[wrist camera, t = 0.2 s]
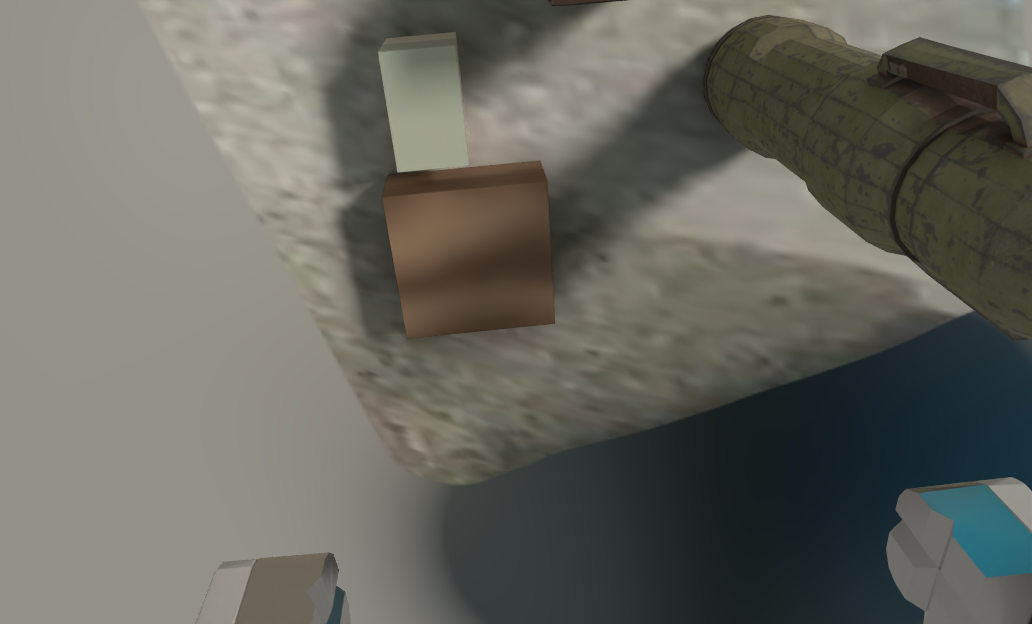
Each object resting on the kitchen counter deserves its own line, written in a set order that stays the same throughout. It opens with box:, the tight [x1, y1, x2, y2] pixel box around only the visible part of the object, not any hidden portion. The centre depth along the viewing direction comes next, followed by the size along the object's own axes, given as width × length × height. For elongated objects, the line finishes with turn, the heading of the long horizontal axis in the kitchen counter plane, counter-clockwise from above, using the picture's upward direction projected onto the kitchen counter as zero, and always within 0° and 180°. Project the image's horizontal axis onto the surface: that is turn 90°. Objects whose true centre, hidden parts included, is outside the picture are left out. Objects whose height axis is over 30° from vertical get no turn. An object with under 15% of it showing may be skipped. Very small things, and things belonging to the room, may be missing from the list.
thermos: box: [704, 15, 1032, 340], centre depth 39 cm, size 9×12×35 cm
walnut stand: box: [382, 161, 555, 338], centre depth 56 cm, size 12×12×5 cm
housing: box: [378, 32, 469, 172], centre depth 50 cm, size 8×5×6 cm, turn 4°
